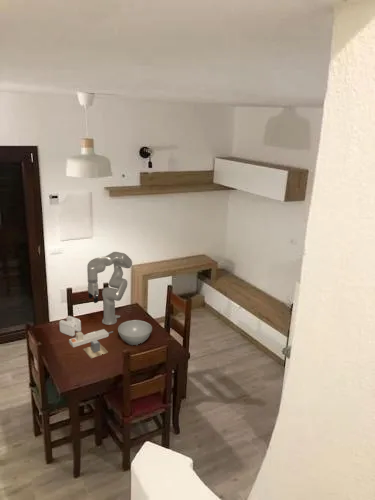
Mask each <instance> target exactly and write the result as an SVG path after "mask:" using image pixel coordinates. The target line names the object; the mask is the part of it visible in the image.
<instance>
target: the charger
mask: <svg viewBox="0 0 375 500" xmlns="http://www.w3.org/2000/svg"><path fill="white" fill-rule="evenodd" d="M100 344H101V342H100V341H99V340H95V341H91V342H90V346H91V350H92V351H93V352H94V353H95V352H98V351H100Z"/></svg>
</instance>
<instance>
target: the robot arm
mask: <svg viewBox="0 0 375 500" xmlns="http://www.w3.org/2000/svg"><path fill="white" fill-rule="evenodd" d="M112 265H113V273H112V275H111V277H110V279H109V281H108V286H109V287H104V288H103V289H102V291H101V292H102V293H101V296H102V299H103V300H102V301H103V318H102V320H101V323H102V324H104V325H107V326H110V325H115V324H116V323H117V322H118V319H119V318H121V315H120V314H119V315H118V314H116V302H120V301H121V300H122V298H123V297H124V294H125V292H126V290H127V287H128V280H127V279H125V278H123V275H124V271H123V269H131V268H132V266H133V261H132V259H131V258H130V257H129V255H127V254H126V253H124V252H119V251H112V252H110V253H109V254H107V255H105V256H100V257H95V258H93V259H90V260H89V261H88V263H87V265H86V267H87V268H86V269H87V271H86V272H87V284H88V285H87V291H88V294H87V295H88V299H92V298H93V304H96V303H98V302H99V294H100V293H99V291H100V290H99V284H98V274H101V273H104V272H105V270H106V268H107V267H110V266H112ZM122 268H123V269H122Z"/></svg>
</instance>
